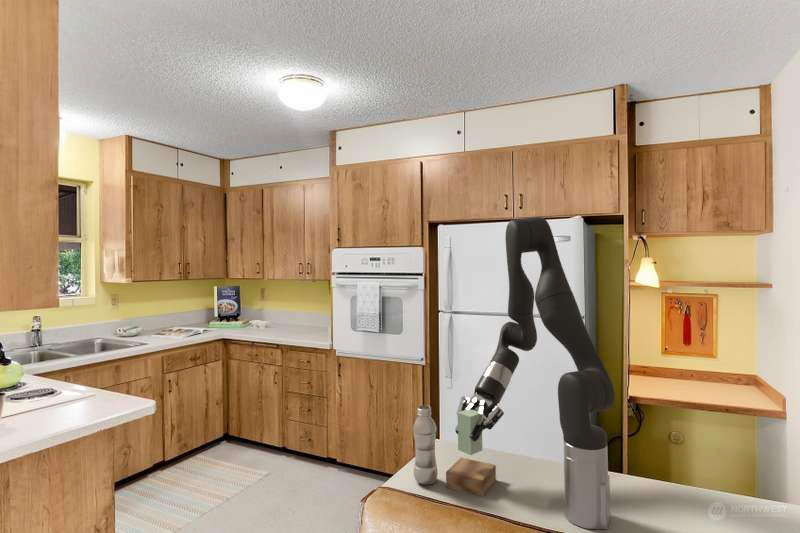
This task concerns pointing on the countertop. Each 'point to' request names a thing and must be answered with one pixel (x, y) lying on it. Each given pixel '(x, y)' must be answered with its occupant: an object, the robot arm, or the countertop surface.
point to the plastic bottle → (425, 447)
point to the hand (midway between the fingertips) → (465, 436)
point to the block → (468, 432)
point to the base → (471, 476)
